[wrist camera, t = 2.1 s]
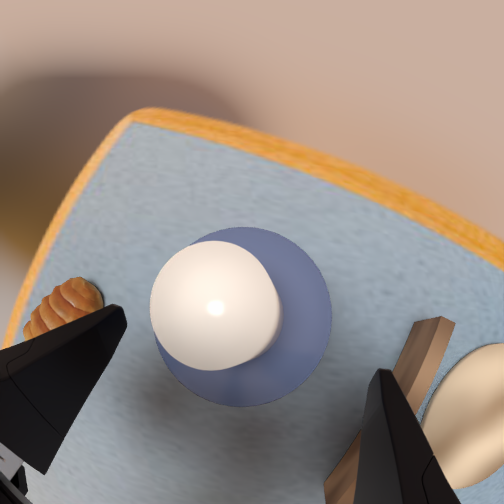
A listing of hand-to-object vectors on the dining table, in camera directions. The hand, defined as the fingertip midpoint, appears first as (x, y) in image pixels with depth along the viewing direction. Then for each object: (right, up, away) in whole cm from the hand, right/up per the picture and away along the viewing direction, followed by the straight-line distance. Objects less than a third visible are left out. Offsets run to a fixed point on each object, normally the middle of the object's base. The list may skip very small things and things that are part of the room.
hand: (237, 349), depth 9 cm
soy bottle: (+2, -2, +8) cm, 9 cm away
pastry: (-15, -4, +11) cm, 19 cm away
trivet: (+17, -9, +4) cm, 19 cm away
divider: (+8, -7, +6) cm, 12 cm away
